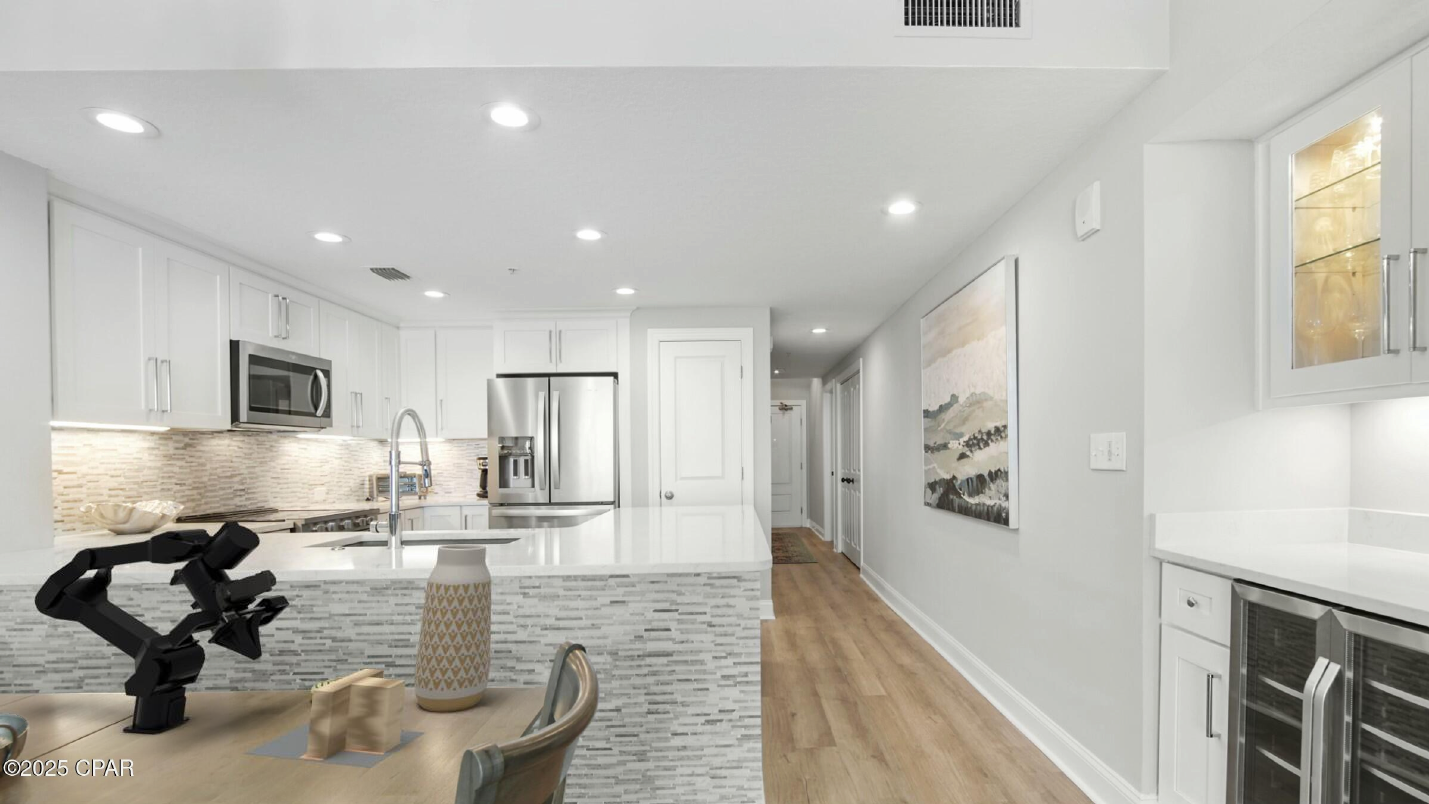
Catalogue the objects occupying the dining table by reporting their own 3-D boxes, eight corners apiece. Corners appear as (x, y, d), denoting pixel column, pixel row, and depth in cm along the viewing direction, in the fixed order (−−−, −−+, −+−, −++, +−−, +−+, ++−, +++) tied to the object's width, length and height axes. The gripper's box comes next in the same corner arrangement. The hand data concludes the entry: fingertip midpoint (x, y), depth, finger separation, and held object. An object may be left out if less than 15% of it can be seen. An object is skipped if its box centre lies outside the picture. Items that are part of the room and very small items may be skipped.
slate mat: (243, 757, 101) (244, 753, 101) (312, 724, 115) (312, 720, 115) (369, 771, 97) (370, 767, 97) (425, 736, 111) (425, 732, 111)
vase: (502, 700, 130) (512, 546, 133) (448, 723, 117) (461, 552, 121) (452, 689, 135) (463, 541, 139) (395, 709, 123) (409, 546, 127)
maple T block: (306, 757, 100) (313, 690, 102) (360, 728, 112) (365, 668, 113) (366, 763, 99) (373, 695, 100) (414, 734, 110) (419, 673, 112)
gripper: (193, 563, 104) (243, 639, 101) (286, 551, 122) (331, 615, 119) (145, 609, 104) (194, 687, 101) (245, 590, 123) (289, 655, 120)
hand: (258, 658), depth 110 cm, fingers closed
